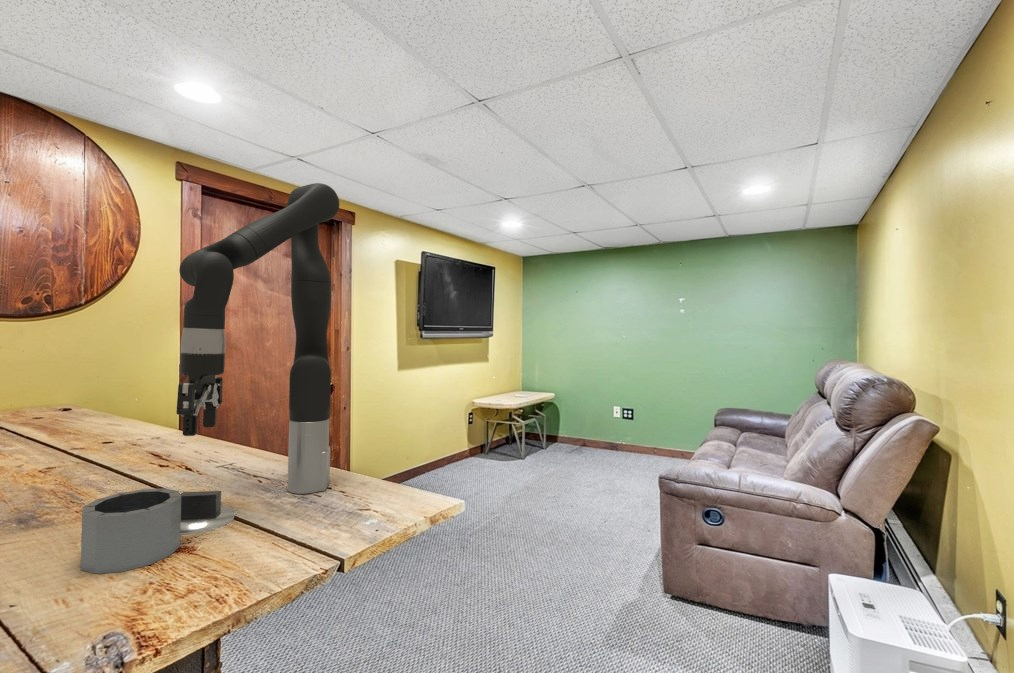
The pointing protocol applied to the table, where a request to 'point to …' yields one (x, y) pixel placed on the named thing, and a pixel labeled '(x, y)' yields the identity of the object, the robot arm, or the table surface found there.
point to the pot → (130, 530)
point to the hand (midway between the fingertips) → (200, 430)
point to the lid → (203, 512)
